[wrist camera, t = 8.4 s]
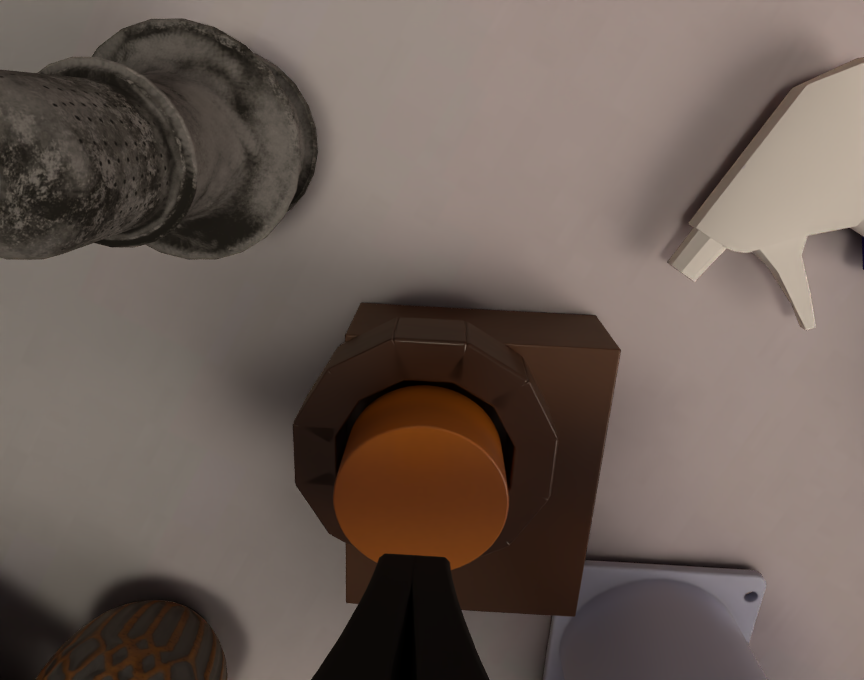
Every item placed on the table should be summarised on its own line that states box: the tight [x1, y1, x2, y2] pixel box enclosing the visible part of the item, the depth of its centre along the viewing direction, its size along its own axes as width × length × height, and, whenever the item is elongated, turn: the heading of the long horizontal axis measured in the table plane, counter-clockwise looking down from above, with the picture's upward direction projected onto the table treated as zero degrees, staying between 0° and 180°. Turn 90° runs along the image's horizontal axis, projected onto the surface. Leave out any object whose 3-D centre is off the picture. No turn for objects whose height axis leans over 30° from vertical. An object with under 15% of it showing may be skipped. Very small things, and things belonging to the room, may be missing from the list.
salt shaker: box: [0, 19, 318, 260], centre depth 13 cm, size 6×6×12 cm
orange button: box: [333, 385, 509, 570], centre depth 16 cm, size 4×4×2 cm
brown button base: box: [293, 303, 621, 617], centre depth 20 cm, size 11×9×5 cm
